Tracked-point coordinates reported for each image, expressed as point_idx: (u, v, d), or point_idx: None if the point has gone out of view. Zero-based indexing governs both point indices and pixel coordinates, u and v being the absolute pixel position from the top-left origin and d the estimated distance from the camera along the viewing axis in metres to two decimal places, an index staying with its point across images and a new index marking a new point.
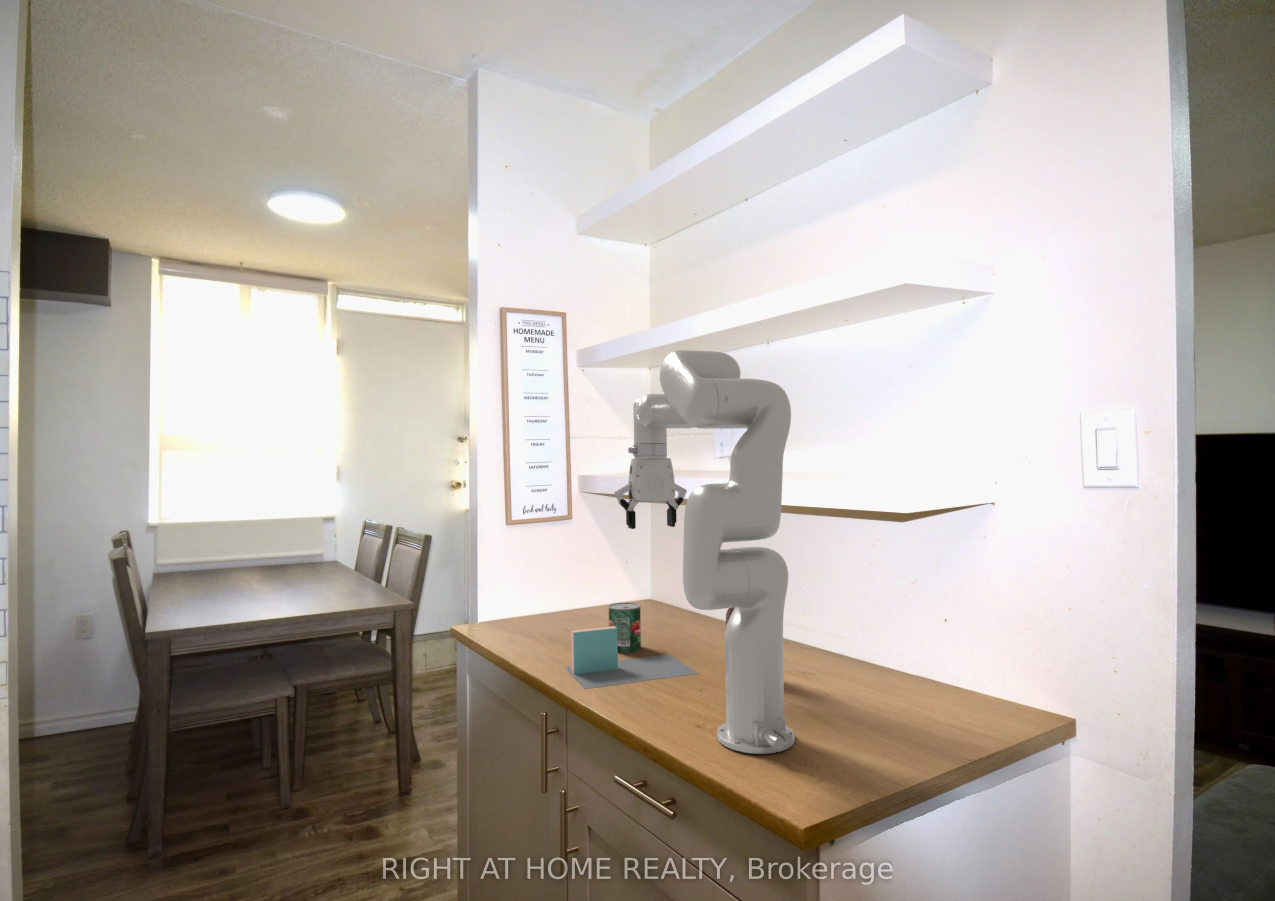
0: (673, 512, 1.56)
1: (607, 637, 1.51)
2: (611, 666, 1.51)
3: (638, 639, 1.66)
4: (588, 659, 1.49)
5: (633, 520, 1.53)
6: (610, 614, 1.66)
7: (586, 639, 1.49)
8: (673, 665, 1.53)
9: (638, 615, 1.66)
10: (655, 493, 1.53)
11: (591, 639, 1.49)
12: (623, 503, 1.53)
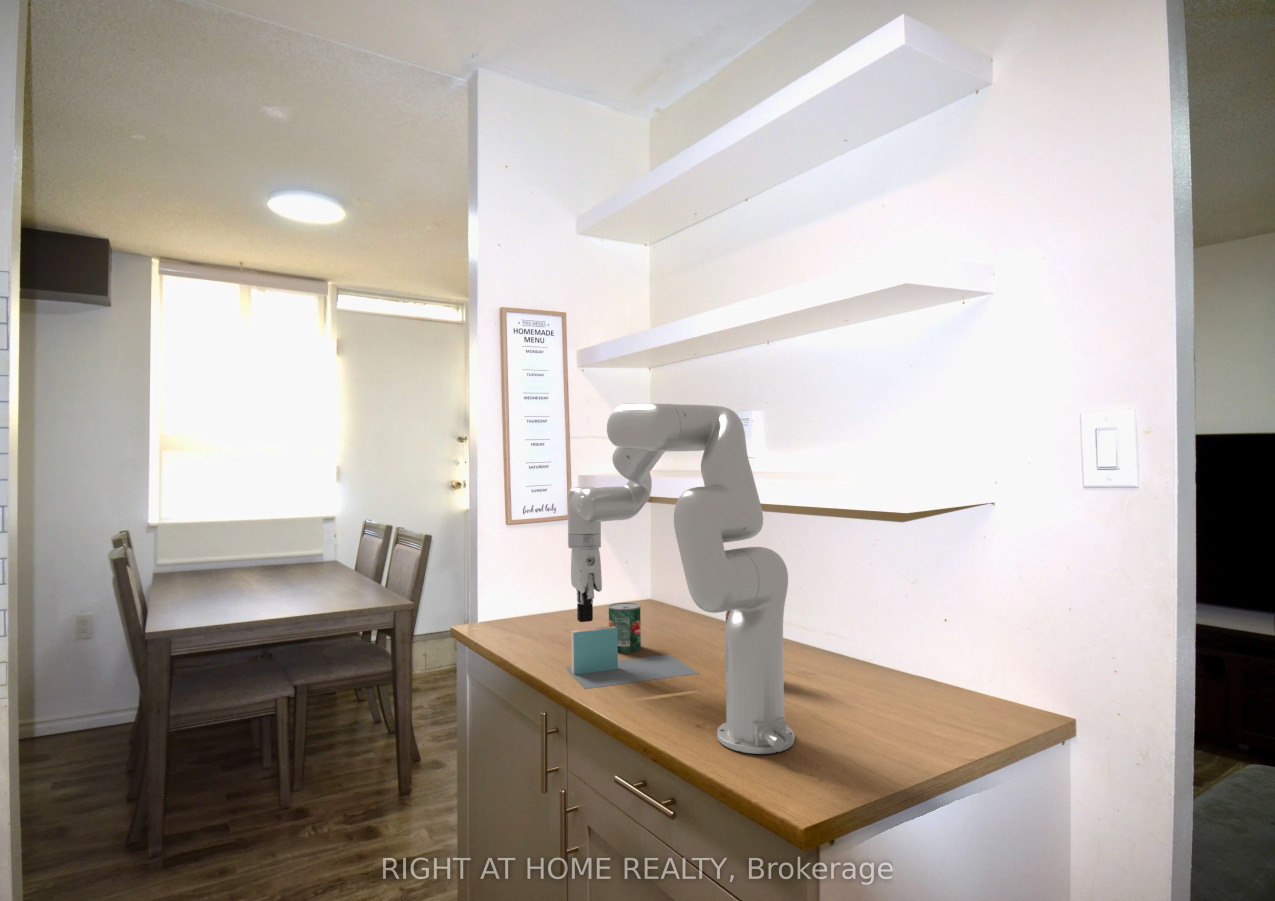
0: None
1: (607, 637, 1.51)
2: (611, 666, 1.51)
3: (638, 639, 1.66)
4: (588, 659, 1.49)
5: None
6: (610, 614, 1.66)
7: (586, 639, 1.49)
8: (673, 665, 1.53)
9: (638, 615, 1.66)
10: None
11: (591, 639, 1.49)
12: None
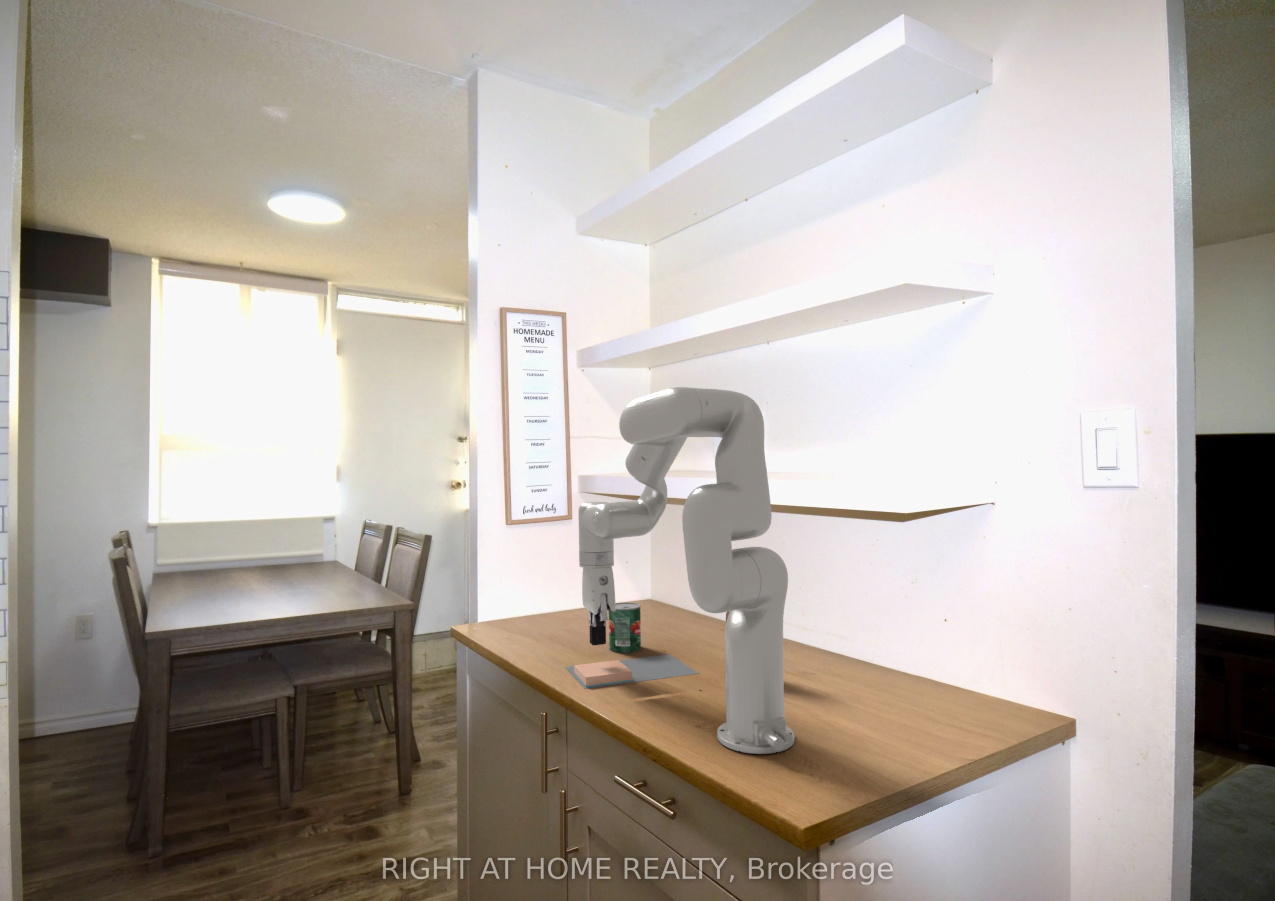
0: None
1: None
2: None
3: (638, 639, 1.66)
4: None
5: None
6: (610, 614, 1.66)
7: None
8: (673, 665, 1.53)
9: (638, 615, 1.66)
10: None
11: None
12: None
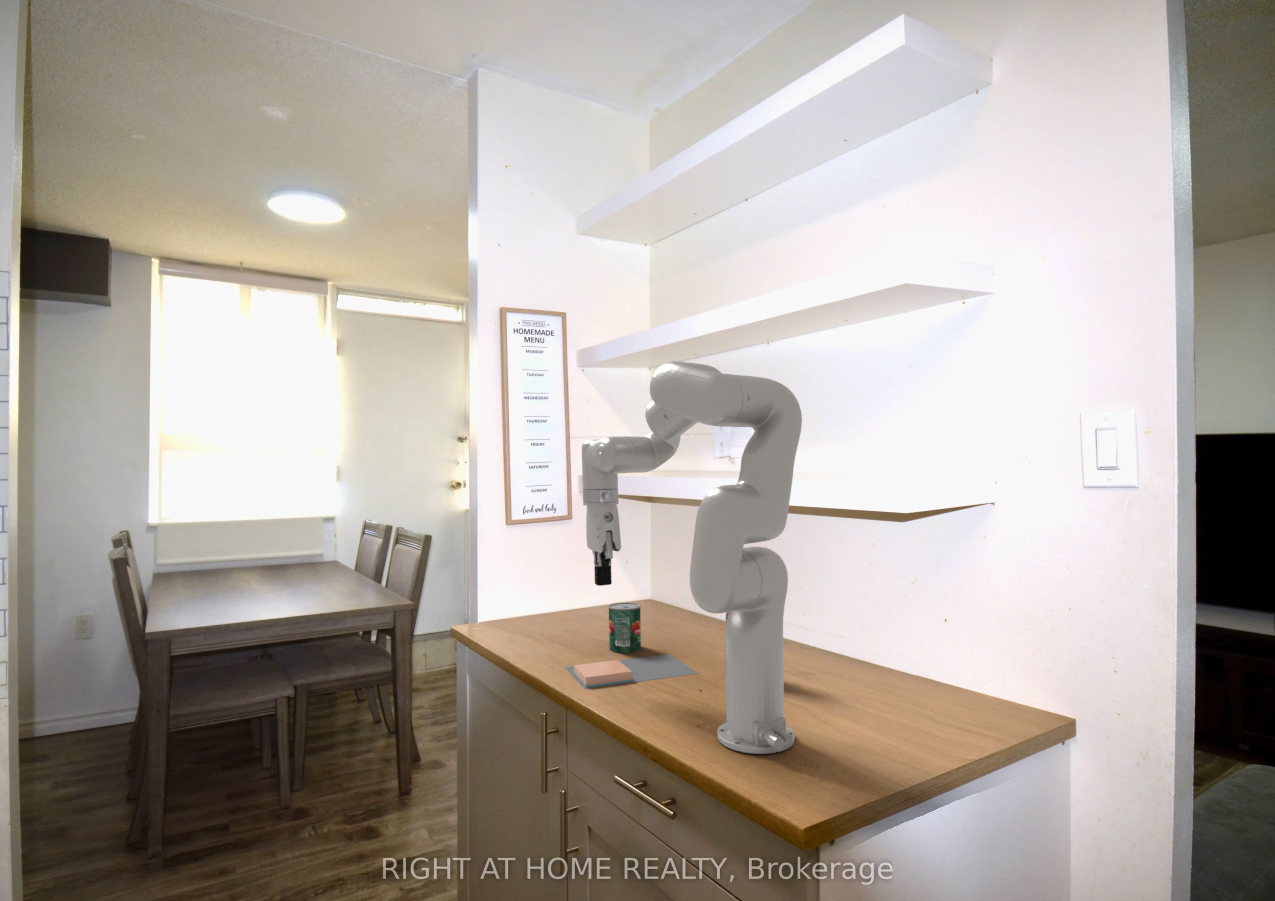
0: None
1: None
2: None
3: (638, 639, 1.66)
4: None
5: (610, 575, 1.45)
6: (610, 614, 1.66)
7: None
8: (673, 665, 1.53)
9: (638, 615, 1.66)
10: None
11: None
12: None
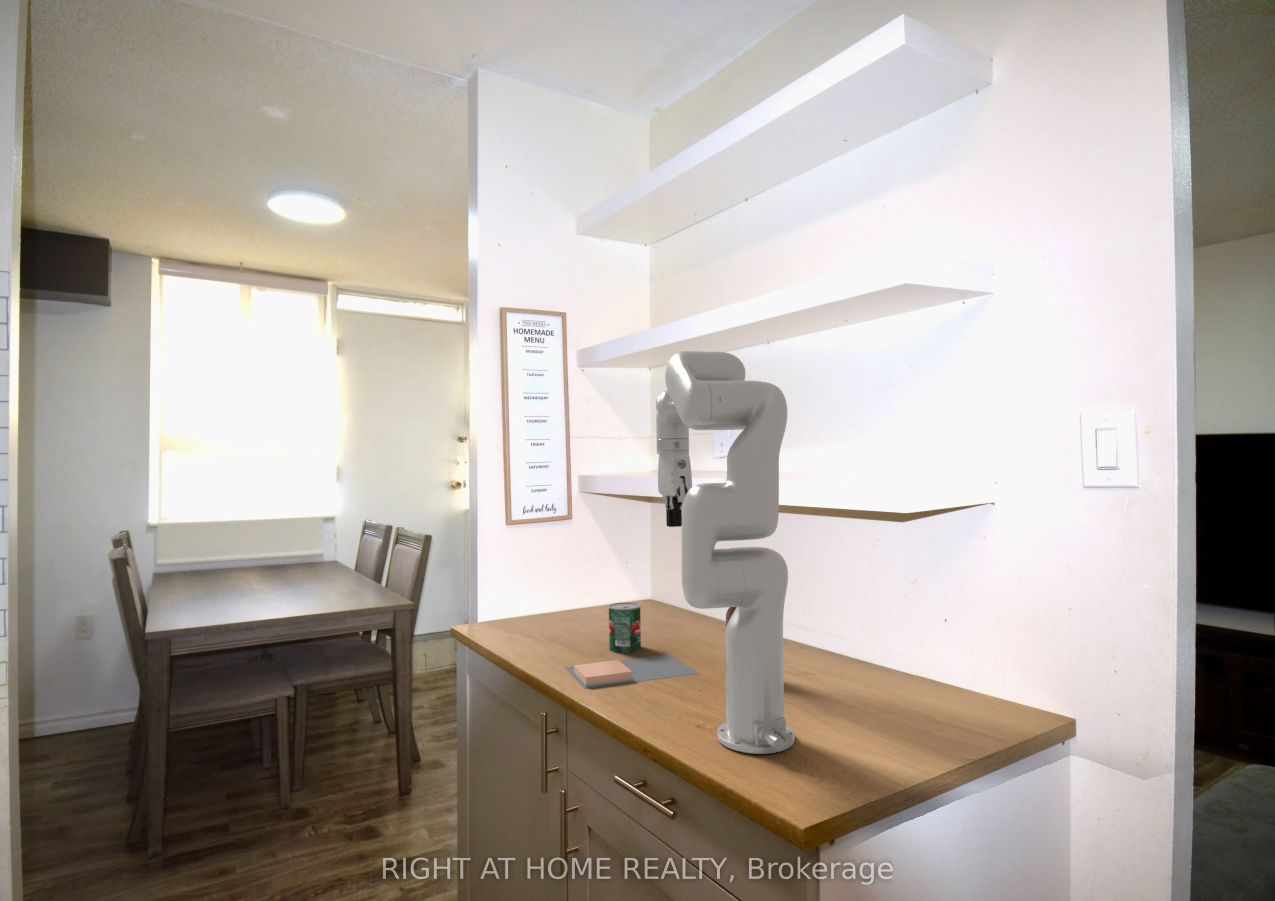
0: None
1: None
2: None
3: (638, 639, 1.66)
4: None
5: None
6: (610, 614, 1.66)
7: None
8: (673, 665, 1.53)
9: (638, 615, 1.66)
10: None
11: None
12: None
